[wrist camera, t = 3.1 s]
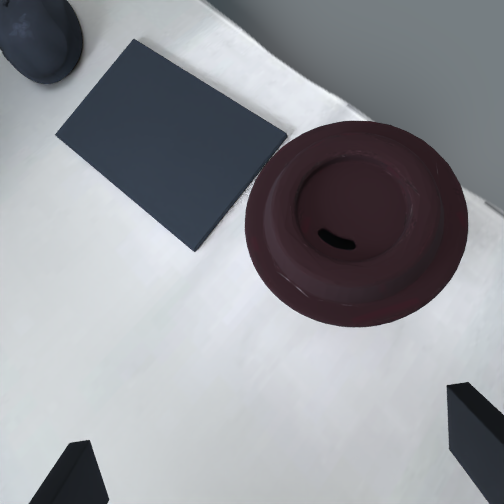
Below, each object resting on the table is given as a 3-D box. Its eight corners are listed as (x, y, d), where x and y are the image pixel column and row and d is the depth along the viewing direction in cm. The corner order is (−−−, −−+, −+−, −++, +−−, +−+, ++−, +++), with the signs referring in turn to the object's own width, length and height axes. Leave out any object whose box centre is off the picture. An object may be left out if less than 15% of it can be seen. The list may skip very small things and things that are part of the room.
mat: (58, 137, 37) (54, 134, 37) (136, 42, 38) (133, 38, 37) (195, 252, 31) (192, 250, 30) (287, 136, 31) (286, 133, 31)
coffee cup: (356, 187, 29) (388, 57, 15) (426, 285, 26) (550, 243, 12) (259, 245, 30) (199, 176, 15) (318, 345, 27) (309, 375, 13)
